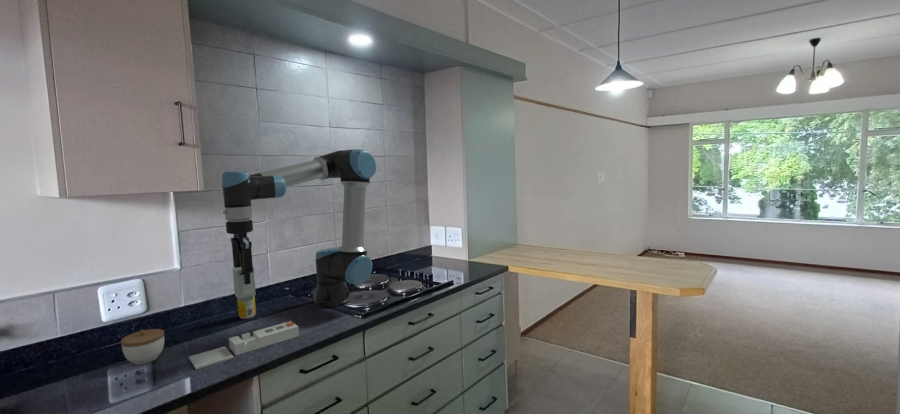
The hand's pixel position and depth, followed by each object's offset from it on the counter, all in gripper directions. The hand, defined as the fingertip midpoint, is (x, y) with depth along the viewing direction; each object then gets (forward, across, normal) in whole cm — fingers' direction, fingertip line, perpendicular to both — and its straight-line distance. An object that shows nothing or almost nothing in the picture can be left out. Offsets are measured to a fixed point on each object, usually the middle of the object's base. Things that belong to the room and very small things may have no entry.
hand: (245, 291), depth 131 cm
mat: (+18, 0, -11) cm, 22 cm away
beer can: (+19, -30, +8) cm, 36 cm away
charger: (+3, 0, 0) cm, 3 cm away
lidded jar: (+19, -14, -26) cm, 35 cm away
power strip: (+19, 0, +5) cm, 19 cm away
